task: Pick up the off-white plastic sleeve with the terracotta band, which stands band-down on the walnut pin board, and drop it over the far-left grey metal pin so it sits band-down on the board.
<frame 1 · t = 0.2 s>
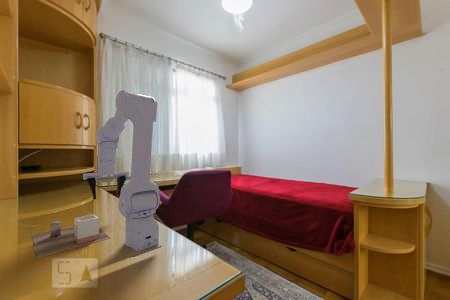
hand: (106, 197, 74), 10 cm above the table, fingers open, 7 cm apart
sleeve: (86, 238, 58), point 1 cm above the table, touching pin board
pin board: (70, 240, 60), on the table
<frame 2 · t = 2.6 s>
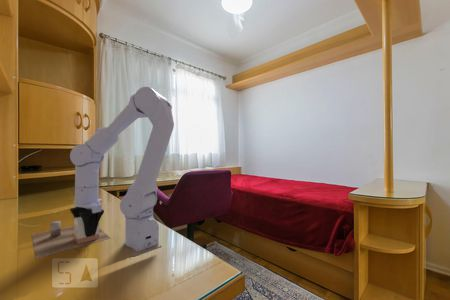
hand: (86, 233, 58), 3 cm above the table, fingers closed on sleeve, 5 cm apart
sleeve: (86, 238, 58), point 1 cm above the table, touching gripper, pin board
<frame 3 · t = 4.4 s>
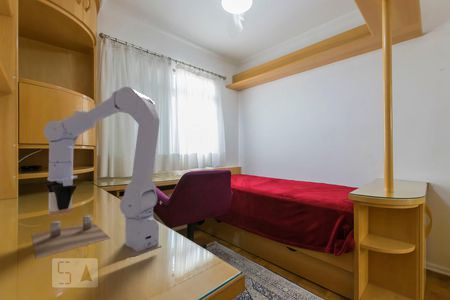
hand: (60, 207, 60), 10 cm above the table, fingers closed on sleeve, 5 cm apart
sleeve: (60, 212, 60), point 8 cm above the table, touching gripper
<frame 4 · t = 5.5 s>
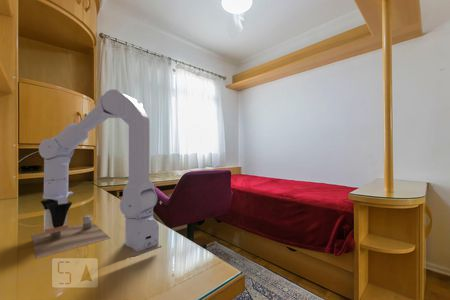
hand: (55, 224, 60), 5 cm above the table, fingers closed on sleeve, 5 cm apart
sleeve: (55, 229, 60), point 3 cm above the table, touching gripper
when the fingers open (4 cm above the table, at t = 6.5 s): sleeve drops 2 cm, resting on pin board.
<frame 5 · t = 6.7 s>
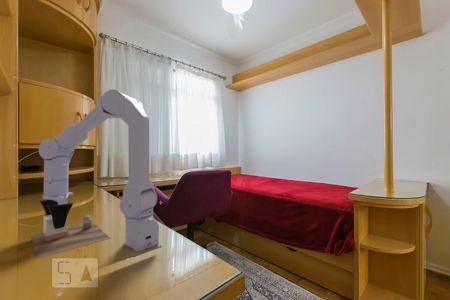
hand: (55, 225, 60), 4 cm above the table, fingers open, 7 cm apart
sleeve: (55, 235, 60), point 1 cm above the table, touching pin board
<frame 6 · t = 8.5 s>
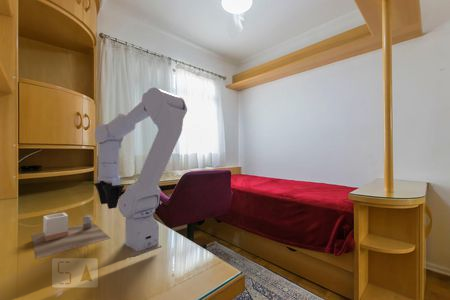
hand: (108, 205, 64), 9 cm above the table, fingers open, 7 cm apart
nothing on the table moved.
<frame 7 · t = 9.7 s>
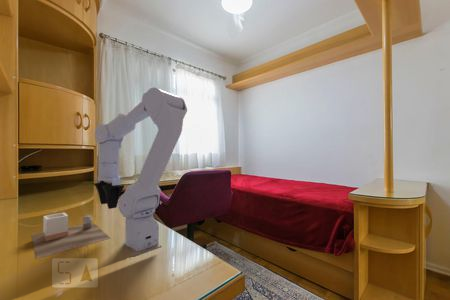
hand: (108, 205, 64), 9 cm above the table, fingers open, 7 cm apart
nothing on the table moved.
at the end: sleeve 0.0 cm from the target spot on the pin board, point 1.2 cm above the pin board's base; sleeve tilted 0°; the gripper is holding nothing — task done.
